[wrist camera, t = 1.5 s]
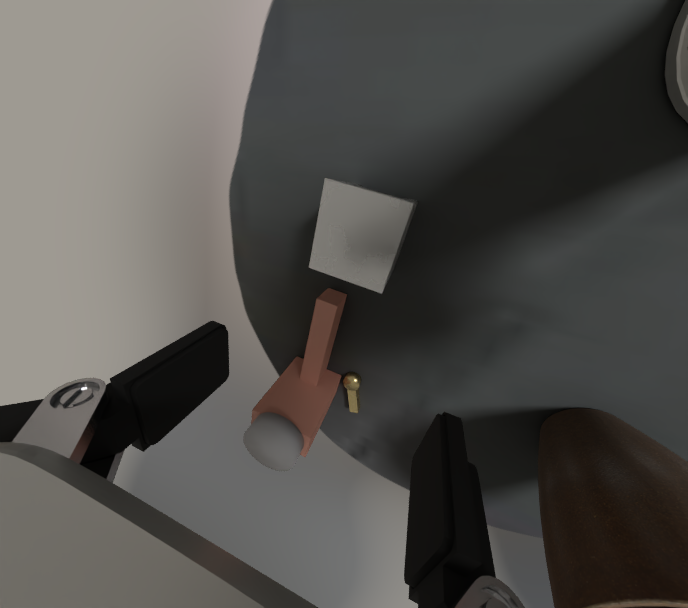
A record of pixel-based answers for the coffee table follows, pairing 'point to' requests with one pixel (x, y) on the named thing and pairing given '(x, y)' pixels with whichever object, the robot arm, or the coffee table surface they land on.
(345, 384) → the brass key
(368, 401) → the coffee table surface
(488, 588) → the robot arm
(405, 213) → the block
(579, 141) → the coffee table surface
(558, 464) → the plant pot
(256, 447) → the brown mallet
